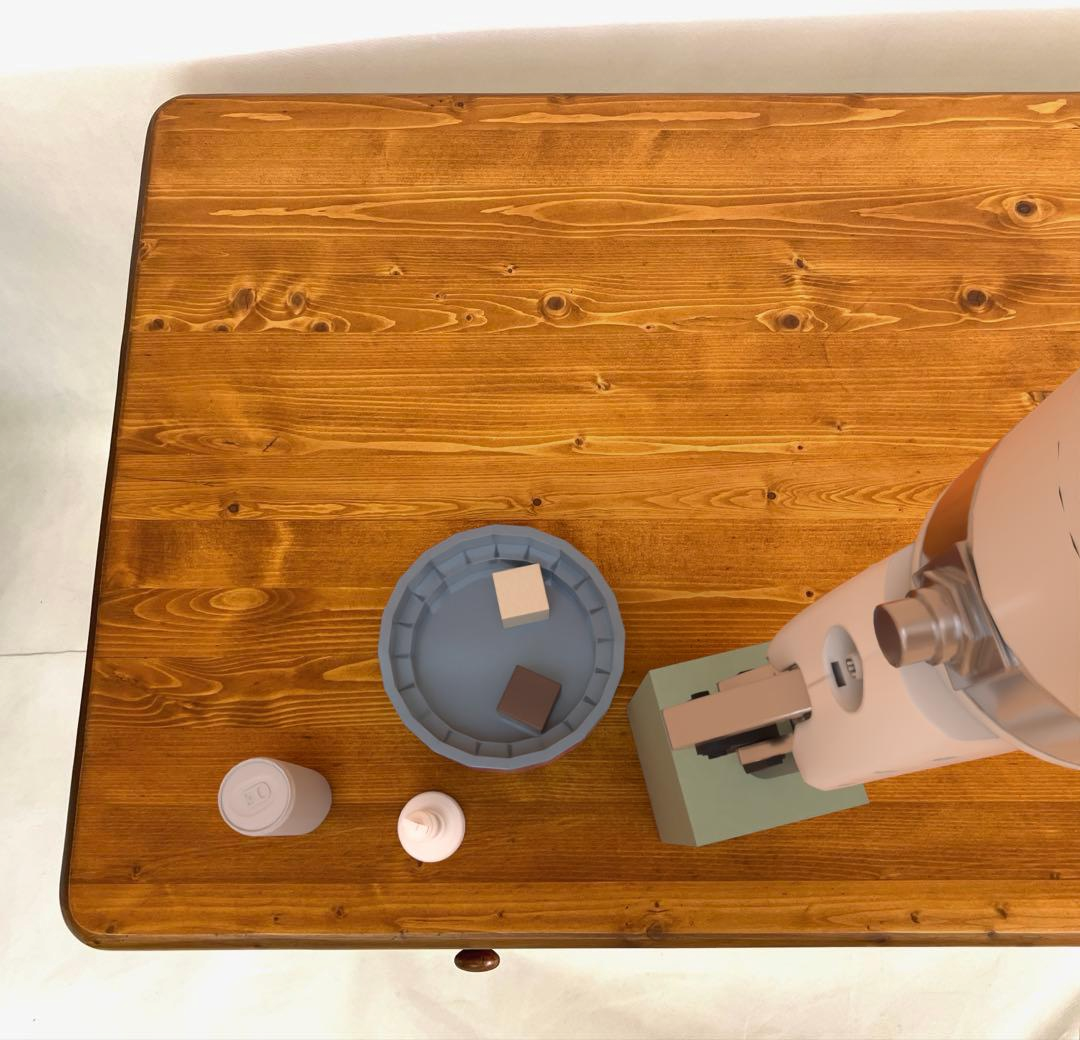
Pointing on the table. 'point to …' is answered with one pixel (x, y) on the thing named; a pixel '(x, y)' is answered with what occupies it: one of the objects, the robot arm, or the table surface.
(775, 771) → the stirring stick
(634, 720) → the stand
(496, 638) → the bowl
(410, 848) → the chess piece
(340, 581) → the table surface
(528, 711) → the walnut block
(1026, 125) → the table surface
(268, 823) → the beverage can
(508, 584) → the cream block
